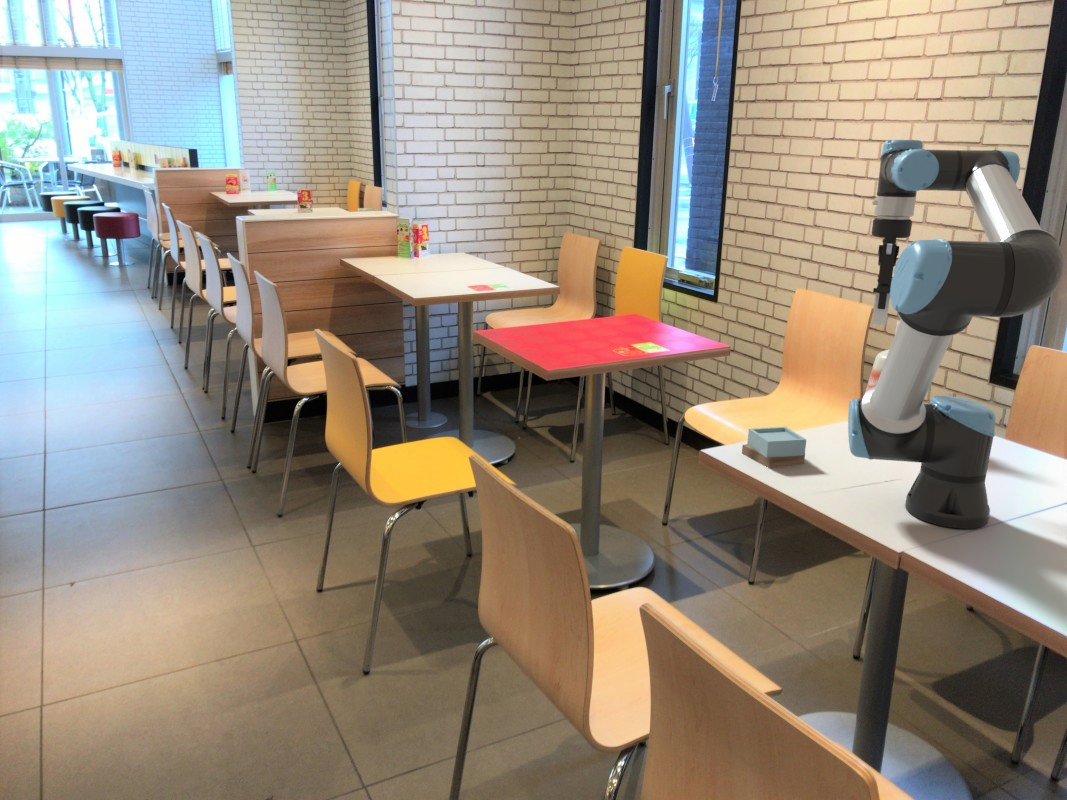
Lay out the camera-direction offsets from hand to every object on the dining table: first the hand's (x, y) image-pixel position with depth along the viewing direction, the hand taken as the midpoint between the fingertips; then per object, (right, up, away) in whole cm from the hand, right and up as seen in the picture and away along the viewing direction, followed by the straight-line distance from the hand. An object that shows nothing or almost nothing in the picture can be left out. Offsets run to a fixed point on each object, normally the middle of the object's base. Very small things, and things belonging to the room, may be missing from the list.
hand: (879, 318), depth 179 cm
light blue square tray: (-18, -29, +15) cm, 37 cm away
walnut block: (-18, -32, +16) cm, 40 cm away
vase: (+15, -27, +33) cm, 45 cm away
